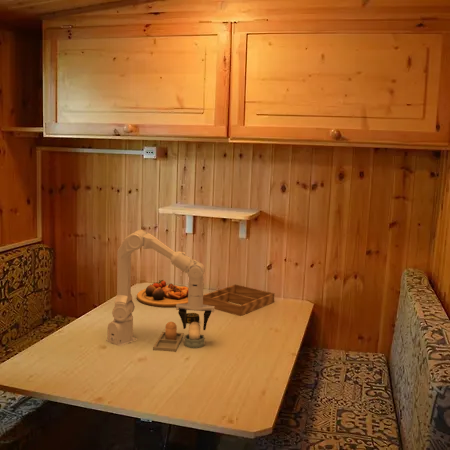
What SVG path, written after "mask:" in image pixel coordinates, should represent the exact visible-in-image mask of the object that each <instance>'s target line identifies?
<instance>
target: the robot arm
mask: <svg viewBox="0 0 450 450" xmlns="http://www.w3.org/2000/svg"><path fill="white" fill-rule="evenodd" d="M141 248H142V249H143V250H151V249H152V250H154V251H156V252H157V253H160V255H162V256H164V257H166V258H168V259H169V260H170V263H171V265H173V266H174V267H175V268H177V269H178V270H180V271H182V272H183V273H185V274H186V275H187V277H188V285H187V287H188V303H186V304H177V305H176V307H175V310H176V311H178V316H179V317H180V320H181V322H182V328H183V330H186V328H187V323H186V313H188V312H187V311H194V312H195V311H196V312H198V311H199V312H203V325H202V326H203V328H202V330H203V331H206V329H207V323H208V320H209V319H210V317H211V314H212V313H215V309H214V307H215V306H209V305H204V304H203V295H204V285H205V283H204V279H205V278H204V274H205V271H206V268H205V265H204V264H203V263H202V262H201V261H197V260H196V259H195V258H194V259H193V258H192V257H189V256H188V255H187V253H186V252H185V251H179V250H178V251H174V250H173V249H172V248H170V247H169V246H167V245H166V244H165V243H163V242H162V241H161V240H159V239H158V238H157V237H155V236H154V235H152V233H150V232H147V231H146V230H144V229H136V230H135V231H134V232H133V233H130V234H129V235H127V236H126V237H124V239H123V241H122V242H121V244H120V246H119V247H118V248H117V252H116V253H117V254H116V256H117V258H116V259H117V261H116V268H117V271H116V272H117V273H116V278H117V280H116V288H117V289H116V290H117V291H116V297H115V300H114V307H113V308H112V312H111V313H112V317H113V320H112V321H111V322H109V323H108V325H107V340H106V342H107V343H110V344H113V345H115V346H118V347H122V346H125V345H126V344H129V343H132V342H135V341H137V340H138V338H137V337H134V317H133V312H134V311H135V307H136V306H135V303H134V301H133V295H132V294H131V293H132V291H131V289H132V288H131V287H132V286H131V285H132V283H131V282H132V281H131V280H132V254H133V253H134V252H135V251H137V250H139V249H141Z"/></svg>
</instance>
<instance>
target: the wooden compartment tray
mask: <svg viewBox="0 0 450 450" xmlns="http://www.w3.org/2000/svg"><path fill="white" fill-rule="evenodd" d="M274 302H275V293H274V292H269V291H265V290H261V289H257V288H253V287H249V286H244V285H241V284H240V285H239V284H233V285H229V286H227V287H223V288H220V289H218V290H215V291H211V292H209V293H205V294H203V304H204V305H209V306H215V307H214V310H217V311H221V312H225V313H229V314H232V315H235V316H238V317H242V316H245V315H246V314H249V313H252V312H254V311H256V310H258V309H261V308H263V307H265V306H268V305H271V304H274Z"/></svg>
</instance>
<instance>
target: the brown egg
mask: <svg viewBox="0 0 450 450" xmlns="http://www.w3.org/2000/svg"><path fill="white" fill-rule="evenodd" d="M177 327H178V325H177V324H176V322H174V321H168V322H167V323H166V324H165V329H164V330H165V331H164V332H165V339H168V340H176V338H177V333H178V331H177V329H178V328H177Z"/></svg>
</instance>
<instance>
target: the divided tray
mask: <svg viewBox="0 0 450 450" xmlns="http://www.w3.org/2000/svg"><path fill="white" fill-rule="evenodd" d="M184 337H185V334H184V333H183V332H177V338H176V340H168V339H165V331H162V332H161V334H160V335H159V337H158V338H157V340H156V341H155V343H154V345H153V346H152V351H160V352H161V351H162V352H174V353H176V352H177V350H178V348H179V346H180V344H181V342H182V340H183V339H184Z"/></svg>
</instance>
